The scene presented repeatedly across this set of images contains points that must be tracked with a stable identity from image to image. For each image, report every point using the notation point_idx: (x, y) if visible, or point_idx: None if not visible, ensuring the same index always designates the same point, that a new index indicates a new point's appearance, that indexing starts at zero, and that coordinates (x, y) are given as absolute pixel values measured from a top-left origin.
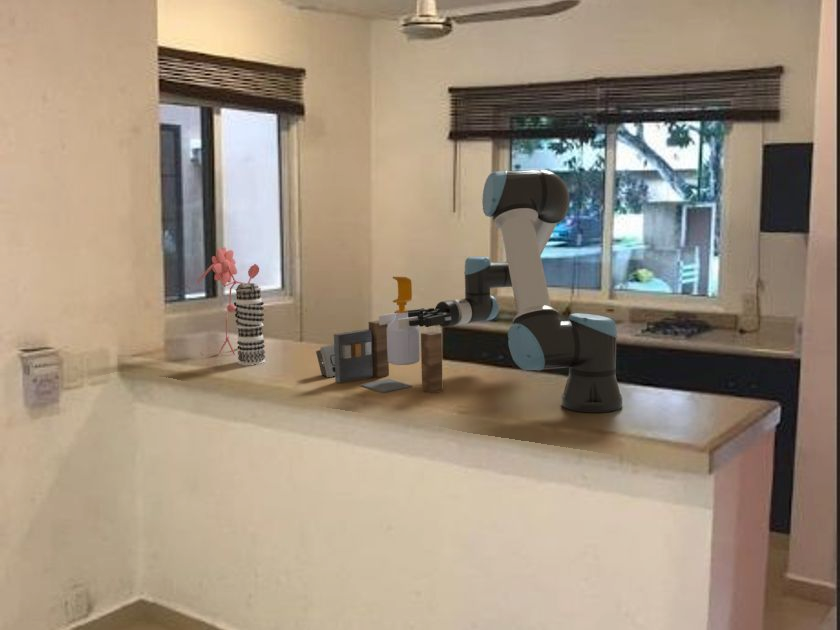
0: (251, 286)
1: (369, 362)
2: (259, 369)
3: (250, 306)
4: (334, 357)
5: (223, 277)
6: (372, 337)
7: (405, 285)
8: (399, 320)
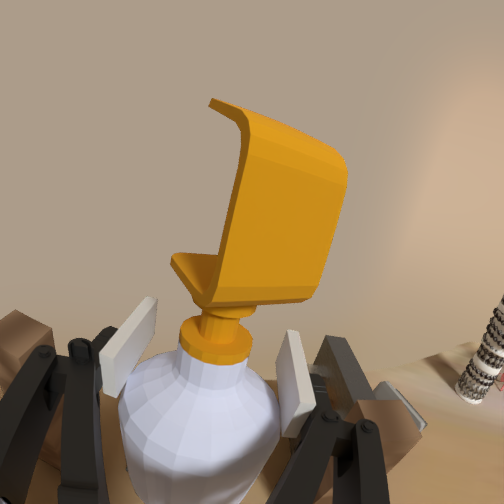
0: None
1: None
2: (431, 387)
3: (499, 314)
4: None
5: None
6: None
7: (286, 189)
8: (146, 300)
